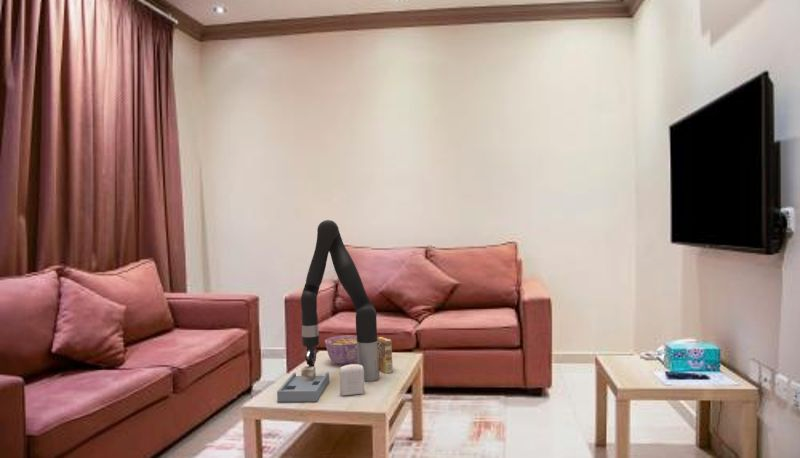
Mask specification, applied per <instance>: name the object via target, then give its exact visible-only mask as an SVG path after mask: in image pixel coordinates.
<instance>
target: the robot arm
mask: <svg viewBox="0 0 800 458" xmlns="http://www.w3.org/2000/svg"><path fill="white" fill-rule="evenodd" d="M316 230H317V235H316V243H315V249H314V253H313V255H312V258H311V262H310V264H309V267H308V271H307V275H306V278H305V279H306V280H305V283H304V286H303V290H302V293H301V295H300V305H301V306H300V307H301V344H302V346H303V347H306V349H305V354H306V355H304V359H305V362H306V365H307V366H315V363H316V361H317V360H316V359H317V354H318V353H317V352H318V349H317V348H316V347H317V346H318V345H320V331H319V330H320V329H319V320H318V319H319V318H318V317H319V316H318V310H317V309H318V306H317V305H318V304H317V302H318V295H319V290H320V286H321V284H322V282H323V279H324V275H325V271H326V267H327V262H328V256H329V254H330V257H331V261H332V264H333V267H334V272H335V273H336V276H337V278H338V280H339V282H340V284H341V286H342V288H343V289H344V291H345V292H346V293H347V295H348V296H349V297H350V300H351V301H352V305H353V307H354V311H355V313H356V314H355V333H356V334H355V336H357V357H358V360H357V364H358V365H362V366H363V369H364V382H374V381H378V380H379V379H380V371H379V356H378V345H377V338H378V325H377V323H378V322H377V315H378V314H377V309H376V308H375V306H374V305H373V304H372V302H371V300H370V298H369V297H368V295H367V293H366V292H367V291H366V289H365V288H364V287H365V286H364V284H363V282H362V278H361V275H360V273H359V271H358V268H357V266H356V264H355V263H354V260H353V259H352V257H351V255H350V253H349V251H348V249H347V248H346V246H345V244H344V242H343V239H342V236H341V233H340V229H339V226H338V224H337V223H336V222H335V221H333V220H330V219H325V220H323V221H321V222H320V223H319V224H318V226H317V229H316Z"/></svg>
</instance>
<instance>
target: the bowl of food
mask: <svg viewBox="0 0 800 458" xmlns="http://www.w3.org/2000/svg"><path fill="white" fill-rule="evenodd" d="M324 343H325V346H326V350H327V354H328V357H329V359H330V360H331V361H332V362H333V363H337V364H338V365H340V366H345V365H350V364H355V362H358V357H357V336H356V335H354V334H353V335H349V334H348V335H337V336H332V337H329V338H327V339H325V340H324Z"/></svg>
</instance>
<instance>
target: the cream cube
mask: <svg viewBox="0 0 800 458" xmlns="http://www.w3.org/2000/svg"><path fill="white" fill-rule="evenodd" d="M300 371H301V373H300V374H301V375H300V376H302V381H313V380H314V379H315V378H316V376H317V375H316V366H315V365H314V366H309V365H307V366H306V365H305V366H303V367H302V368H301V369H300Z"/></svg>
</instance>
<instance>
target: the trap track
mask: <svg viewBox="0 0 800 458" xmlns="http://www.w3.org/2000/svg"><path fill="white" fill-rule="evenodd" d="M329 383H330V373H329V372H326V373H325V374H324V375H316V378H315V379H314V380H313V381H302V376H301V375H297V372H293V373H292V374H291V375H290V376H289V377H288V378H287V380H286V381H285V382H284V383H283V384H282V385H281V386H280V387H279V388H278V390H277V391H276V396H277V400H276V401H277V403H317V402H318V401H319V399H320V398H321V396H322V394H323V393H324V392H325V390H326V388H327V387H328V385H329Z"/></svg>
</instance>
